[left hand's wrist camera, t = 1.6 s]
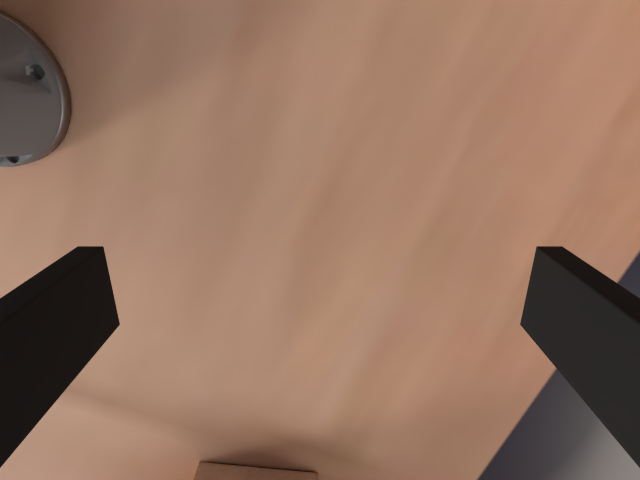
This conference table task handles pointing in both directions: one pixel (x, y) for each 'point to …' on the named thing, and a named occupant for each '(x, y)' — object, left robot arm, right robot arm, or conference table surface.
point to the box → (248, 473)
